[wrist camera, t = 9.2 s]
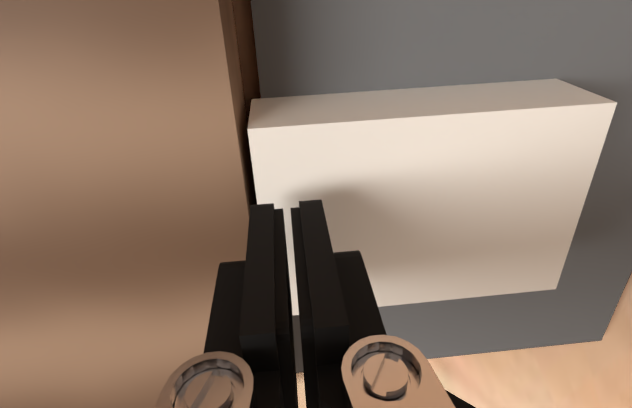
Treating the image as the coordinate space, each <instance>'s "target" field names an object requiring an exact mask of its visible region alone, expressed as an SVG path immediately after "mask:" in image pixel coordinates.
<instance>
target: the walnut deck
mask: <svg viewBox="0 0 632 408" xmlns="http://www.w3.org/2000/svg"><path fill="white" fill-rule="evenodd" d="M247 128H248V124H247V116H246V108H245V100H244V92H243V84H242V76H241V68H240V60H239V52H238V44H237V36H236V28H235V21H234V13H233V5H232V0H0V408H154V407H155V405H156V403H157V400H158V398H159V396H160V393H161V391H162V388H163V386H164V385H165V383H166V381H167V380H168V378H169V376H170V375H171V374H172V373H173V372H174V371H175V370H176V369H177V368H178V367H179V366H180V365H181V364H183V363H184V362H186V361H188V360H189V359H191V358H192V357H195V356H198V355H201V354H203V353H204V347H205V341H206V335H207V330H208V324H209V318H210V313H211V307H212V301H213V295H214V290H215V284H216V278H217V272H218V267H219V264H220V263H221V262H231V261H243V260H246V250H247V238H248V227H249V215H250V205H257V199H256V191H255V184H254V176H253V168H252V161H251V153H250V145H249V138H248V130H247Z"/></svg>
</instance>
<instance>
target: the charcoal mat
mask: <svg viewBox="0 0 632 408" xmlns="http://www.w3.org/2000/svg"><path fill="white" fill-rule="evenodd" d="M251 9H252V19H253V28H254V38H255V47H256V57H257V66H258V76H259V85H260V94H261V98H275V97H290V96H305V95H319V94H334V93H349V92H364V91H379V90H393V89H408V88H423V87H438V86H453V85H467V84H482V83H497V82H512V81H527V80H541V79H559V80H561V81H564V82H567V83H569V84H572V85H574V86H577V87H579V88H582V89H584V90H587V91H589V92H592V93H595V94H597V95H600V96H602V97H605V98H607V99H610V100H612V101H615V102H617V105H616V108H615V111H614V114H613V117H612V120H611V123H610V126H609V129H608V132H607V135H606V138H605V142H604V145H603V148H602V151H601V154H600V157H599V160H598V163H597V166H596V169H595V172H594V175H593V178H592V181H591V184H590V187H589V190H588V193H587V196H586V199H585V202H584V205H583V208H582V211H581V215H580V218H579V221H578V224H577V227H576V230H575V233H574V236H573V239H572V242H571V245H570V248H569V251H568V254H567V257H566V260H565V263H564V266H563V269H562V272H561V275H560V278H559V281H558V284H557V287H556V289H552V290H542V291H532V292H522V293H512V294H502V295H492V296H482V297H472V298H462V299H452V300H442V301H432V302H422V303H412V304H402V305H392V306H382V307H378V309H379V312H380V315H381V318H382V321H383V325H384V328H385V331H386V334H387V335H389V336H396V337H398V338H401V339H403V340H406V341H408V342H410V343H411V344H412V345H414V346H415V347H417V348H418V349H419V350H420V351H421V352H422V354H423V355H424V356H425V357H426V359H431V358H440V357H450V356H459V355H469V354H478V353H488V352H497V351H506V350H516V349H525V348H535V347H544V346H553V345H563V344H572V343H582V342H591V341H601V340H602V338H603V336H604V333H605V331H606V329H607V327H608V324H609V322H610V320H611V318H612V315H613V313H614V311H615V308H616V306H617V304H618V302H619V299H620V297H621V295H622V293H623V290H624V288H625V286H626V284H627V281H628V279H629V277H630V275H631V272H632V0H251ZM292 316H293V332H294V348H295V364H296V373H299V372H304V370H303V358H302V345H301V333H300V321H299V315H292Z"/></svg>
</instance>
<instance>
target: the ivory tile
mask: <svg viewBox="0 0 632 408" xmlns="http://www.w3.org/2000/svg"><path fill="white" fill-rule="evenodd" d="M616 105H617V102H615V101H612V100H610V99H607V98H605V97H602V96H600V95H597V94H595V93H592V92H589V91H587V90H584V89H582V88H579V87H577V86H574V85H572V84H569V83H567V82H564V81H561V80H559V79H541V80H527V81H512V82H497V83H482V84H467V85H453V86H438V87H423V88H408V89H393V90H379V91H364V92H349V93H334V94H319V95H305V96H290V97H275V98H260V99H252V100H251V107H250V114H249V121H248V128H247V130H248V138H249V145H250V153H251V161H252V168H253V176H254V184H255V191H256V199H257V205H258V204H270V203H274V209H283V213H284V223H285V234H286V245H287V256H288V267H289V278H290V289H291V301H292V315H299V308H298V296H297V284H296V271H295V259H294V246H293V234H292V222H291V209H290V208H295V207H299V201H308V200H320V199H321V200H322V203H323V208H324V213H325V217H326V222H327V226H328V231H329V235H330V240H331V245H332V249H333V252H345V251H356V250H359V251H360V252H361V255H362V258H363V261H364V264H365V267H366V271H367V274H368V277H369V280H370V283H371V286H372V290H373V293H374V296H375V299H376V302H377V306H378V307H382V306H392V305H402V304H412V303H422V302H432V301H442V300H452V299H462V298H472V297H482V296H492V295H502V294H512V293H522V292H532V291H542V290H552V289H556V287H557V284H558V281H559V278H560V275H561V272H562V269H563V266H564V263H565V260H566V257H567V254H568V251H569V248H570V245H571V242H572V239H573V236H574V233H575V230H576V227H577V224H578V221H579V218H580V215H581V211H582V208H583V205H584V202H585V199H586V196H587V193H588V190H589V187H590V184H591V181H592V178H593V175H594V172H595V169H596V166H597V163H598V160H599V157H600V154H601V151H602V148H603V145H604V142H605V138H606V135H607V132H608V129H609V126H610V123H611V120H612V117H613V114H614V111H615V108H616Z"/></svg>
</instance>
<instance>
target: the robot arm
mask: <svg viewBox="0 0 632 408" xmlns="http://www.w3.org/2000/svg"><path fill="white" fill-rule="evenodd" d="M290 209H291V222H292V234H293V246H294V259H295V271H296V284H297V296H298V308H299V321H300V333H301V345H302V358H303V370H304V382H305V395H306V407H307V408H475V407H474V406H472V405H470V404H468V403H467V402H465V401H463V400H462V399H460V398H458V397H456V396H455V395H453V394H451V393H450V392H448V391H446V390H445V389H444V387H443V386H442V384H441V382H440V380H439V379H438V377H437V375H436V374H435V372H434V370H433V369H432V367H431V365H430V363H429V362H428V360H427V359H426V357H425V356H424V355H423V354H422V352H421V351H420V350H419V349H418V348H417V347H415V346H414V345H412V344H411V343H410V342H408V341H406V340H403V339H401V338H398V337H396V336H389V335H387V334H386V331H385V328H384V325H383V321H382V318H381V315H380V312H379V309H378V306H377V302H376V299H375V296H374V293H373V290H372V286H371V283H370V280H369V277H368V274H367V271H366V267H365V264H364V261H363V258H362V255H361V252H360V251H359V250H356V251H345V252H333V249H332V245H331V240H330V235H329V231H328V226H327V222H326V217H325V213H324V208H323V203H322V200H321V199H320V200H308V201H299V207H295V208H290ZM154 408H298V396H297V380H296V364H295V348H294V332H293V316H292V301H291V289H290V278H289V267H288V256H287V245H286V234H285V223H284V213H283V209H274V203H270V204H258V205H250V215H249V227H248V238H247V250H246V260H243V261H231V262H221V263H220V264H219V267H218V272H217V278H216V284H215V290H214V295H213V301H212V307H211V313H210V318H209V324H208V330H207V335H206V341H205V347H204V353H203V354H201V355H198V356H195V357H192V358H191V359H189V360H188V361H186V362H184V363H183V364H181V365H180V366H179V367H178V368H177V369H176V370H175V371H174V372H173V373H172V374H171V375H170V376H169V378H168V380H167V381H166V383H165V385H164V386H163V388H162V391H161V393H160V396H159V398H158V400H157V403H156V405H155V407H154Z"/></svg>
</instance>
